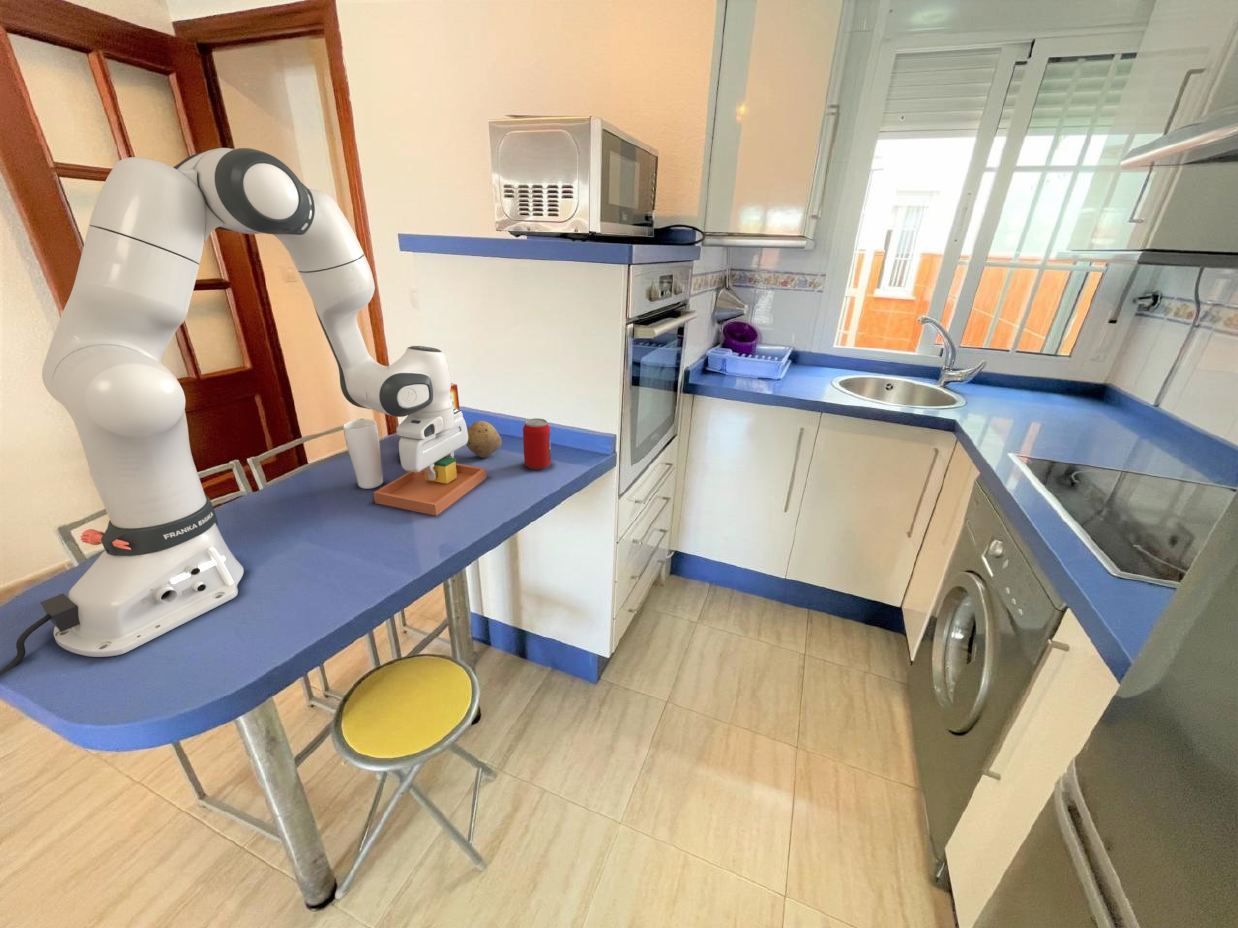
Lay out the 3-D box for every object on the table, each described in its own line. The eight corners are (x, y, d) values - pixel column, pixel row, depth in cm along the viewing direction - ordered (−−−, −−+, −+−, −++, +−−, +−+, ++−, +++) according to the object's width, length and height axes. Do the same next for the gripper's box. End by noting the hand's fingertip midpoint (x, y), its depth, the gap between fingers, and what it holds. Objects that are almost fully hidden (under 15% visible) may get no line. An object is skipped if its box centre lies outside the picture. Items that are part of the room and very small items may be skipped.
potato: (458, 457, 133) (454, 421, 129) (484, 447, 139) (481, 413, 135) (481, 466, 128) (478, 429, 124) (507, 455, 135) (505, 420, 131)
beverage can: (556, 464, 130) (555, 421, 126) (539, 473, 125) (537, 428, 120) (536, 458, 134) (534, 415, 129) (519, 466, 128) (516, 422, 124)
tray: (436, 515, 105) (435, 504, 104) (375, 503, 109) (373, 492, 108) (486, 478, 122) (485, 468, 121) (432, 468, 126) (430, 458, 125)
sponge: (446, 483, 116) (444, 463, 114) (424, 479, 117) (422, 460, 116) (457, 477, 119) (455, 458, 118) (435, 473, 121) (433, 454, 119)
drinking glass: (392, 479, 119) (382, 420, 113) (377, 492, 113) (365, 430, 107) (365, 477, 120) (353, 418, 114) (348, 490, 114) (335, 428, 108)
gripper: (449, 404, 122) (455, 456, 128) (390, 431, 104) (399, 490, 110) (472, 407, 121) (476, 460, 126) (415, 435, 103) (424, 495, 108)
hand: (440, 474), depth 118 cm, fingers closed on sponge, 4 cm apart
